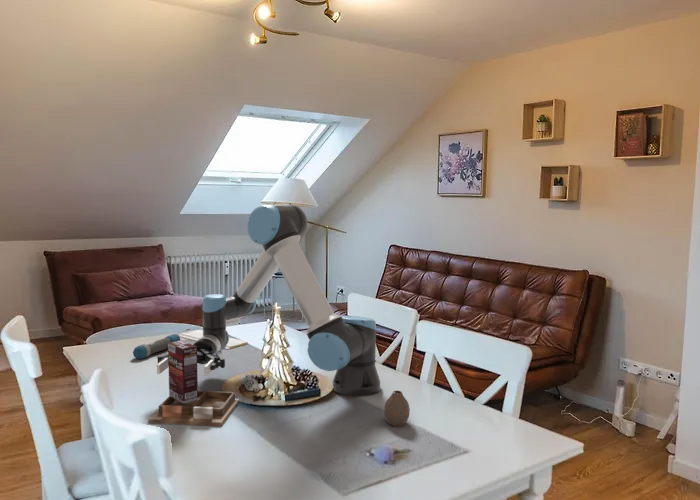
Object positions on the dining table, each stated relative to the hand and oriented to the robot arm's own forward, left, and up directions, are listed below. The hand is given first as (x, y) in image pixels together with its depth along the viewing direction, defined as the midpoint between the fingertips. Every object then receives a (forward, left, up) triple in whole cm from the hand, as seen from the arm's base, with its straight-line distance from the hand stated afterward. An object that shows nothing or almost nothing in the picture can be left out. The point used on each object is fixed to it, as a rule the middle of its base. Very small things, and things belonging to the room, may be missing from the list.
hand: (181, 370), depth 164 cm
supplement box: (0, -1, -9) cm, 9 cm away
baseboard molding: (+34, -67, -12) cm, 77 cm away
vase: (-59, -13, -12) cm, 62 cm away
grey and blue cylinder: (+43, -45, -12) cm, 63 cm away
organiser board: (-4, 0, -11) cm, 12 cm away
